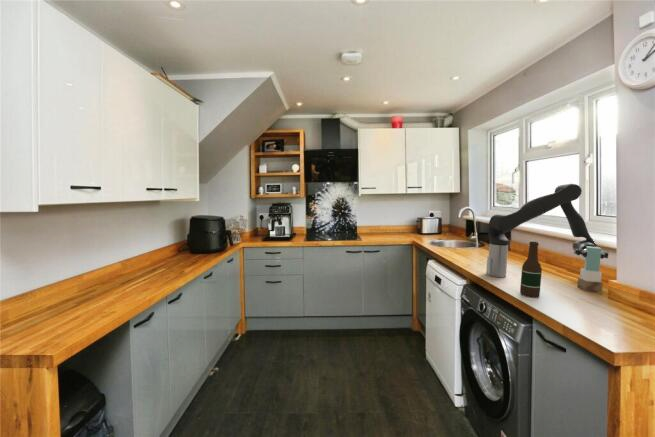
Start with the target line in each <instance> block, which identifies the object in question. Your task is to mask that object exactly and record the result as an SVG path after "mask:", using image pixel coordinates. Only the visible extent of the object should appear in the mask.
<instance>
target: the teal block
mask: <svg viewBox="0 0 655 437" xmlns="http://www.w3.org/2000/svg"><path fill="white" fill-rule="evenodd" d="M586 252H587V255H586V257H584V258H585V259H584V267H583V268H584V269H585V270H588V271H596V272H599V271H600V268H601V266H600V265H601V258H600V257H601V252H602V247H599V246H597V247H591V246H586Z"/></svg>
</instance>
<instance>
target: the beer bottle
mask: <svg viewBox="0 0 655 437" xmlns="http://www.w3.org/2000/svg"><path fill="white" fill-rule="evenodd" d="M528 244H529V248H528V255H527V258H526V260H525V261H524V262H523V263H522V267H521V275H520V276H521V278H520V285H519V286H520V288H519V290H520V291H519V292H520V296H521V295H522V296H523V295H524V297H527V298H534V299H535V298H540V294H541V283H542V265H541V264H540V263H541V262H540V261H539V258H538V257H539V256H538V255H539V253H538V252H539V250H538V249H539V245H540V244H539V242H538V241H529V243H528Z"/></svg>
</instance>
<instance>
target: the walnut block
mask: <svg viewBox="0 0 655 437" xmlns="http://www.w3.org/2000/svg"><path fill="white" fill-rule="evenodd" d="M603 285H604V283H603V282H602V281H601V282H590V281H585V280H583V279H581V278H580V277H578V278H577V287H578V288H577V289H579V288H580V290H581V291H583V292H588V293H597V292H602V293H603V287H604V286H603Z"/></svg>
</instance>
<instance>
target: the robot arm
mask: <svg viewBox="0 0 655 437" xmlns="http://www.w3.org/2000/svg"><path fill="white" fill-rule="evenodd" d="M582 191H583V190H582V188H581V186H580V185H578V184H576V183H566V184H560V185H557V187H555V189H554V193H550V194H546V195H543V196H539V197H536V198H533V199H531V200H528V201H527V202H525V203H524V204H523V205H522V206H521V207H520V208H519V209H518V210H517V211H515V212H512V213H510V214H507V215H503V214H495V215H492V216H491V217H490V219H489V221H488V239H489V247H488V248H489V249H488V256H487V257H486V258H487V259H486V271H485V272H486V274H487V275H488V276H489V277H495V278H496V277H497V278H505V277H507V267H508V254H509V239H508V238H507V237H506V235H505V233H509V232H511V231H512V230H514V229H516V228H517V227H519V226H520V225H523V224H525V223H526V222H528V221H531V220H533V219H536V218H538V217H540V216H542V215H544V214H547V213H548V212H550V211H552V210H554V209H556V208H557V207H559V206H560V208H561V209H562V211H563V213H564V215H565V217H566V219H567V221H568V225H569V228H570V232H571V234H572V236H573V237H574V238H584V239H582V240H577V241H575V242H573V243H572V249H573V254H574V255H576V256H580V255H581V256H582V257H583V258H585V257H586V255H587V252H586V246H591V247H598V246H597V243H596V242H595V241H593V240H594V239H593V238H592V236H591V235H590V233H589V231H588V228H587V225H586V222H585V220H584V218H583V217H582V215H581V214H579V212H578V211H577V210H576V208H575V207H574V205H573V203H572V201H576V200H577V199H579V198H580V197H581V195H582ZM594 242H595V243H596V244H595V243H594ZM609 254H610V252H609V251H607V250H606V251H604V252H602V251H601V257H600V260H601V259H608V258H609Z"/></svg>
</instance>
